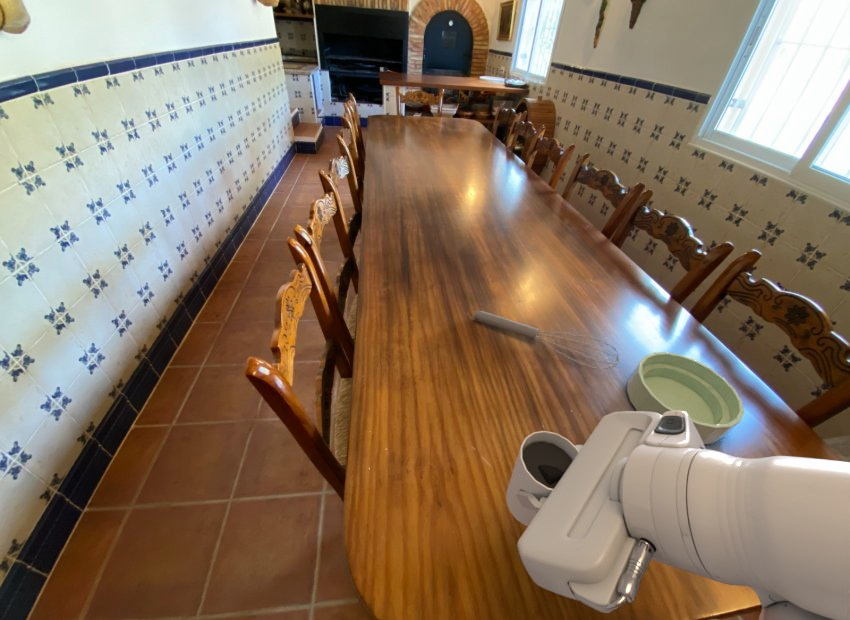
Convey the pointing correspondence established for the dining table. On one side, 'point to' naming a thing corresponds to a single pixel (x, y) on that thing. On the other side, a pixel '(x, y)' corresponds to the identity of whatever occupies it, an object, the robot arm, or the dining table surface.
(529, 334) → the kitchen whisk
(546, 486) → the white coffee cup
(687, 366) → the bowl
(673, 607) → the dining table surface
